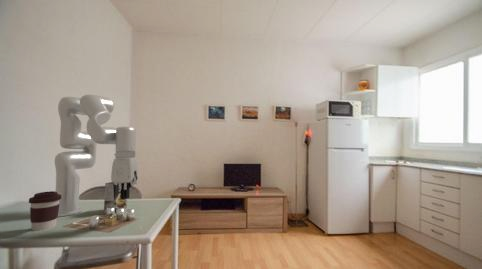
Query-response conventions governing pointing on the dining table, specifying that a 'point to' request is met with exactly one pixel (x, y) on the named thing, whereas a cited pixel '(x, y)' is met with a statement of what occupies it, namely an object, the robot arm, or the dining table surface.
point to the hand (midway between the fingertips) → (124, 198)
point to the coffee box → (113, 197)
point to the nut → (110, 220)
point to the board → (102, 228)
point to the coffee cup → (44, 210)
